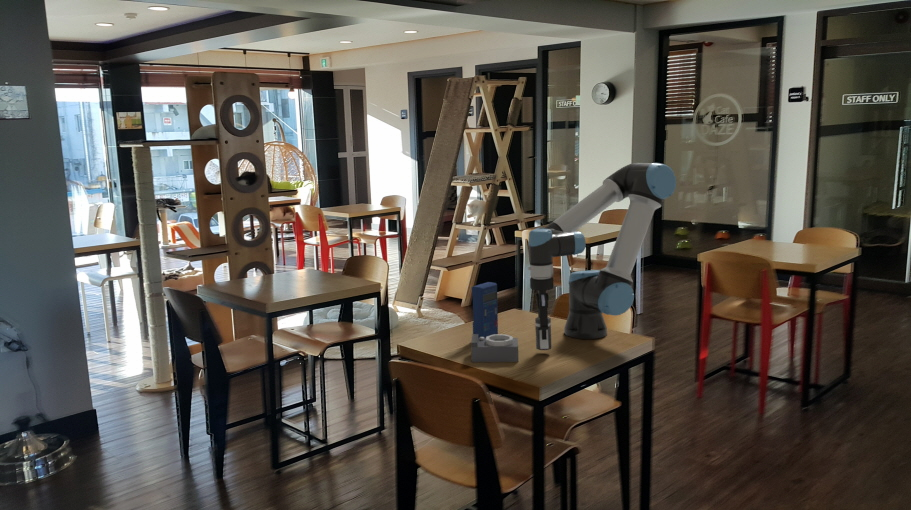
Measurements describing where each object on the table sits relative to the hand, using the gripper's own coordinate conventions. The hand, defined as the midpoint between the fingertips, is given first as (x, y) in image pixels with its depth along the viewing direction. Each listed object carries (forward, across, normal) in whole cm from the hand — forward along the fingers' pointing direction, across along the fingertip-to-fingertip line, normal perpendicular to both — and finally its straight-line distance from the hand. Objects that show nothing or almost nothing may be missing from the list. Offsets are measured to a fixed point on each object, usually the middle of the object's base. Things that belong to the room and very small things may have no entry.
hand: (543, 345), depth 233 cm
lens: (+1, 0, 0) cm, 1 cm away
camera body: (+2, +3, -16) cm, 17 cm away
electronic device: (+3, -18, -20) cm, 27 cm away
